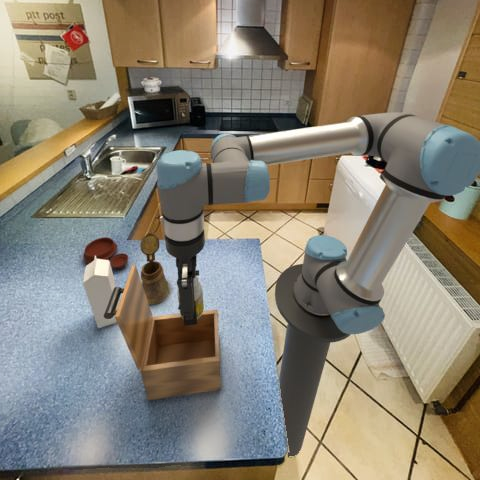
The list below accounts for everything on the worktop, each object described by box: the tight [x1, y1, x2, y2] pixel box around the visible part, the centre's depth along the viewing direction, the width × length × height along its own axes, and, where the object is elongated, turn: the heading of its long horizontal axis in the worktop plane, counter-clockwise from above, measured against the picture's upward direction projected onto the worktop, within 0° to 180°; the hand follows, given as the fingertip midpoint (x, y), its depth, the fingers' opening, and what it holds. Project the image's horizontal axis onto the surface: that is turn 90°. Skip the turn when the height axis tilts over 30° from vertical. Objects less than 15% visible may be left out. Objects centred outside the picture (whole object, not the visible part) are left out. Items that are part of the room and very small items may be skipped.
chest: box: [139, 309, 222, 401], centre depth 62 cm, size 17×12×12 cm
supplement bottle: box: [177, 276, 205, 319], centre depth 56 cm, size 5×5×10 cm
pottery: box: [82, 237, 129, 270], centre depth 95 cm, size 12×20×4 cm, turn 61°
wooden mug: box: [139, 232, 171, 305], centre depth 82 cm, size 9×14×18 cm, turn 17°
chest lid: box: [104, 264, 153, 371], centre depth 55 cm, size 18×12×5 cm
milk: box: [82, 255, 121, 329], centre depth 72 cm, size 6×6×22 cm
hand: (191, 309), depth 57 cm, fingers closed on supplement bottle, 5 cm apart
